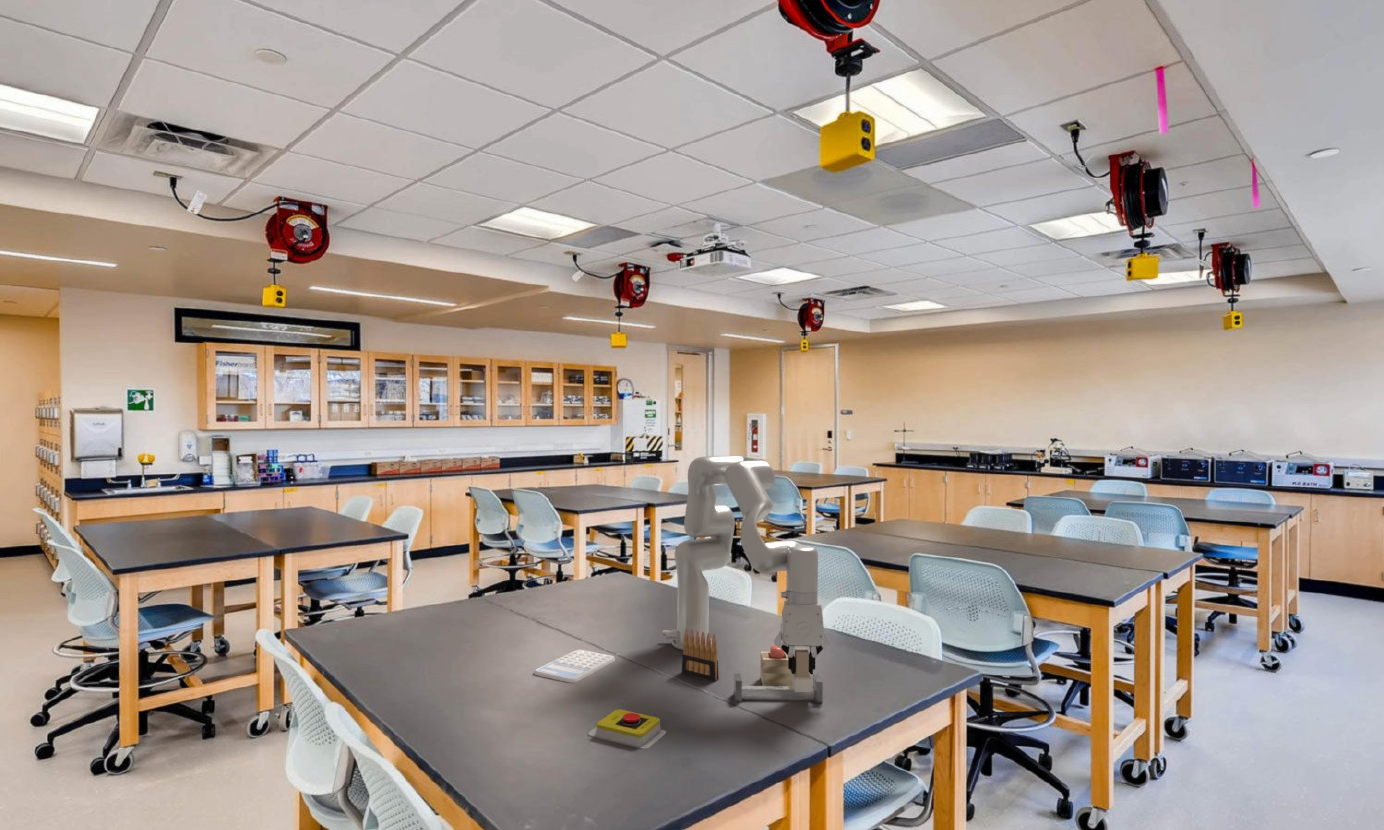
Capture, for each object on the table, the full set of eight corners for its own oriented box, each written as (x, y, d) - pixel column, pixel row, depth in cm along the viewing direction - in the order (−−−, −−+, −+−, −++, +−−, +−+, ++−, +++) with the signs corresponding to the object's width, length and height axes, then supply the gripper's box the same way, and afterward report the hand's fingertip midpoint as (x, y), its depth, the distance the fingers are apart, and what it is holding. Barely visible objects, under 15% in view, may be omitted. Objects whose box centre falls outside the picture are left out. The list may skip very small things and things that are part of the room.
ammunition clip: (718, 679, 180) (719, 633, 180) (715, 681, 178) (715, 635, 178) (685, 671, 186) (685, 626, 186) (681, 673, 184) (681, 628, 184)
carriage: (795, 691, 165) (795, 654, 165) (791, 682, 171) (791, 646, 171) (811, 692, 165) (811, 654, 165) (807, 682, 171) (807, 646, 171)
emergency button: (647, 730, 141) (586, 716, 147) (646, 752, 141) (585, 737, 147) (668, 713, 149) (609, 701, 156) (667, 734, 149) (609, 720, 155)
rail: (735, 701, 165) (735, 680, 165) (734, 693, 170) (734, 673, 170) (822, 702, 165) (822, 681, 165) (818, 694, 170) (818, 674, 170)
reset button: (770, 664, 176) (771, 650, 176) (769, 660, 180) (769, 645, 180) (785, 665, 176) (785, 650, 176) (783, 660, 180) (783, 645, 180)
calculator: (616, 661, 194) (616, 655, 194) (573, 685, 176) (573, 677, 176) (578, 654, 200) (578, 647, 200) (532, 676, 182) (532, 669, 182)
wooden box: (762, 686, 175) (762, 659, 175) (760, 678, 181) (760, 651, 181) (794, 687, 175) (794, 659, 175) (790, 678, 181) (791, 651, 181)
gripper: (769, 600, 164) (769, 677, 164) (839, 601, 164) (838, 678, 164) (766, 592, 172) (766, 666, 172) (833, 593, 172) (832, 667, 172)
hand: (801, 671), depth 168 cm, fingers open, 3 cm apart
